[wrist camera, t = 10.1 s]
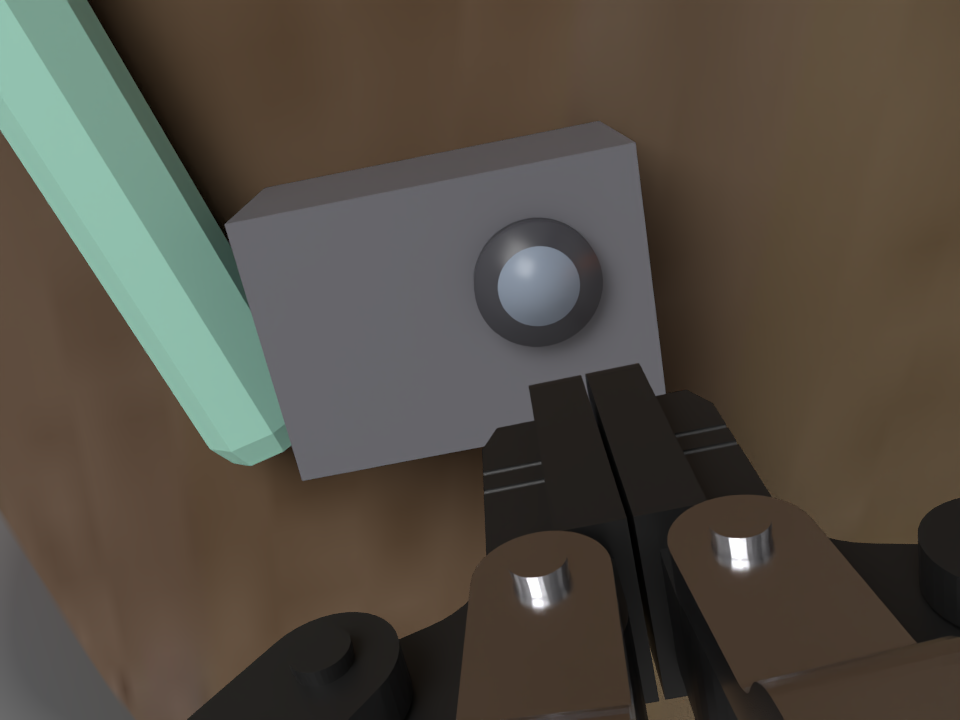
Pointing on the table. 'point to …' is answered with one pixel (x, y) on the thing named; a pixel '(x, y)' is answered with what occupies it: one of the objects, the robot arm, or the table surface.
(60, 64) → the mint green bar
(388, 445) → the camera case
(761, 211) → the table surface
